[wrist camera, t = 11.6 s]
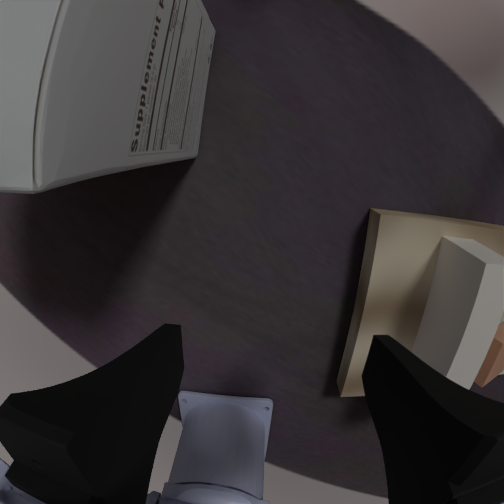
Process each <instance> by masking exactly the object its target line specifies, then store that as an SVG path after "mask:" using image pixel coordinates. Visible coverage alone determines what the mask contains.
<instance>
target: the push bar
mask: <svg viewBox="0 0 504 504" xmlns="http://www.w3.org/2000/svg"><path fill="white" fill-rule="evenodd" d="M503 312H504V257H503V256H501V255H500V254H498V253H496V252H494V251H493V250H491V249H489V248H487V247H486V246H484V245H482V244H480V243H479V242H477V241H475V240H473V239H464V238H455V237H446V236H442V240H441V245H440V250H439V255H438V259H437V264H436V268H435V272H434V277H433V281H432V285H431V288H430V292H429V296H428V300H427V303H426V307H425V310H424V313H423V317H422V320H421V323H420V326H419V330H418V333H417V336H416V339H415V342H414V345H413V347H412V350H411V352H412V353H413V354H414V355H416V356H417V357H418V358H420V359H421V360H422V361H424V362H425V363H426V364H428V365H429V366H430V367H432V368H433V369H435V370H436V371H438V372H439V373H441V374H442V375H443V376H445V377H447V378H448V379H450V380H452V381H453V382H455V383H457V384H459V385H461V386H462V387H464V388H466V389H468V390H469V389H470V387H471V386H472V384H473V382H474V380H475V378H476V376H477V374H478V372H479V370H480V367H481V365H482V363H483V361H484V359H485V357H486V354H487V352H488V350H489V348H490V345H491V343H492V341H493V338H494V336H495V333H496V331H497V328H498V326H499V323H500V320H501V318H502V315H503Z"/></svg>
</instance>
